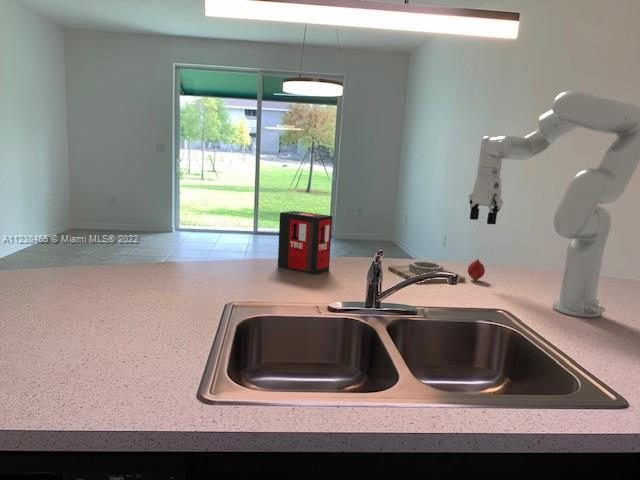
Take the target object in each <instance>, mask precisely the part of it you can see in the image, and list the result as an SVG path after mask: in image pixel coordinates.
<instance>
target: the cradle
mask: <svg viewBox="0 0 640 480" xmlns="http://www.w3.org/2000/svg"><path fill="white" fill-rule="evenodd" d="M387 270H388V271H390V272H391V273H394V274H396V275H398V276H400V277H401V278H404V279H406V280H407V278H410V277H413V276H417V275H421V274H424V273H428V272H433V271H450V270H448V269H445V268H444V265H442V264H440V263H437V262H430V261H422V260H421V261H420V260H419V261H418V260H417V261H411V262H410V263H409V265H408V264H407V265H388V268H387ZM450 272H452V271H450ZM458 275H459V282H458V283H462V282H463V283H465V282H466V277H465V276H463V275H460V274H458ZM436 283H437V284H440V283H448V282H447V279H430V280H426V281H424V282H420V283H419V284H436ZM416 284H418V283H416Z"/></svg>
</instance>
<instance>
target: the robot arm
mask: <svg viewBox="0 0 640 480" xmlns="http://www.w3.org/2000/svg"><path fill="white" fill-rule="evenodd" d="M537 125H538V129H537V130H535V131H534V132H532V133H530V134H528V135H526V136H515V135H500V136H493V135H485V136H482V138H481V142H480V150H479V157H478V164H477V165H478V166H477V172H476V173H477V174H476V178H475V181H474V185H473V188H472V189H473V191H472V193H470V194H469V195H468V198H469V207H470V214H469V219H470V220H473V221H474V220H476V221H477V220H478V219H479V215H480V208H479V207H480V206H483V207H484V206H485V207H487V208H488V211H489V212H487V213H488V214H487V220H486V223H487V225H495V224H496V223H497V216H498V213H499V212H500V210H501V208H502V205H503V203H504V201H503V199H502V198H501V197H502V196H501V195H502V178H501V170H502V162H503V160H515V161H516V160H517V161H523V160H524V161H525V160H528V159H530V158H533V157H536V156H537V155H539V154H541V153H543V152H545V151H546V150H548V149H549V147H551V146H552V145H553V144H554V142H555V141H556V140H557V139H559V138H561V137H563V136H565V135H567V134H569V133H570V132H572V131H574V130H576V129H578V128H580V127H581V128H584V129H586V130H590V131H593V132H596V133H603V134H612V135H616V139H615V140H614V141H613V142H612V143H611V144H610V145H609V147H608V148H607V150H606V151H605V153H604V155H603V157H602V158H601V161H600V162H599V165H598V166H597V167H596V168H594V167H591V168H590V167H589V168H586V169H582V170H581V171H579V172H578V173H576V174H575V175H574V177H573V178H572V179H571V180H570V182H569V184H568V186H567V188H566V190H565V192H564V195H563V196H562V198H561V201H560V203H559V204H558V206H557V209H556V210H555V213H554V217H553V227H554V230H555V233H557V234H558V235H559V236H560V237H562V238H564V239H569V241H568V244H567V246H566V251H565V257H564V264H563V271H562V278H561V285H560V292H559V298H558V301H555V302H552V309H554V310H555V311H557V312H559V313H562V314H565V315H569V316H573V317H578V318H579V317H581V318H597V317H599V316H601V315H603V313H605V311H606V308H605V307H603V306H600V305H599V303H600V300H599V299H597V295H598V289H599V282H600V277H601V270H602V263H603V259H604V258H603V257H604V252H605V246H606V244H607V240H608V237H609V235H610V232H611V227H612V218H611V215H610V213H609V211H608V210H607V209H606V208H604V207H603V206H601V204H612V203H615V202H617V201H618V200H619V199H621V197H622V196H623V194H624V192H625V191H626V189H627V187H628V185H629V183H630V181H631V179H632V178H633V176H634V174H635V172H636V170H637V167H638V166H639V164H640V106H639V105H636V104H634V103H631V102H625V101H619V100H616V99H615V100H614V99H609V98H605V97H601V96H596V95H595V94H593V93H590V92H586V91H582V90H581V91H579V90H575V89H568V90H565V91H563V92H561V93H559V94H557V96H556V97H555V99H554V100H553V102H552V105H551V109H550V110H549V111H546V112H545V113H542V115H540V116H539V118H538V121H537ZM599 204H600V205H599Z"/></svg>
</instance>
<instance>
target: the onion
mask: <svg viewBox="0 0 640 480" xmlns="http://www.w3.org/2000/svg"><path fill="white" fill-rule="evenodd" d="M467 273H468V275H469V277H470V278H471V279H472V280H473V281H475V282H476V281H478V280H479V279H480V278H482V277H483V276H484V275H485V265H484V264H483V263H481V262H480V260H479V258H476V259H475V260H474V261H473V262H470V264H469V265H468V268H467Z"/></svg>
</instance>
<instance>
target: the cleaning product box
mask: <svg viewBox="0 0 640 480" xmlns="http://www.w3.org/2000/svg"><path fill="white" fill-rule="evenodd" d="M332 224H333V215H329V214H320V213H313V212H305V211H296V210H291V211H283V212H279V228H278V229H279V230H278V246H277V247H278V253H277V268H281V269H285V270H291V271H296V272H300V273H305V274H308V275H314V276H316V275H319V274H323V273H326V272H329V271H330V262H331V261H330V260H331V259H330V257H331V243H332V227H333V225H332Z"/></svg>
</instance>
